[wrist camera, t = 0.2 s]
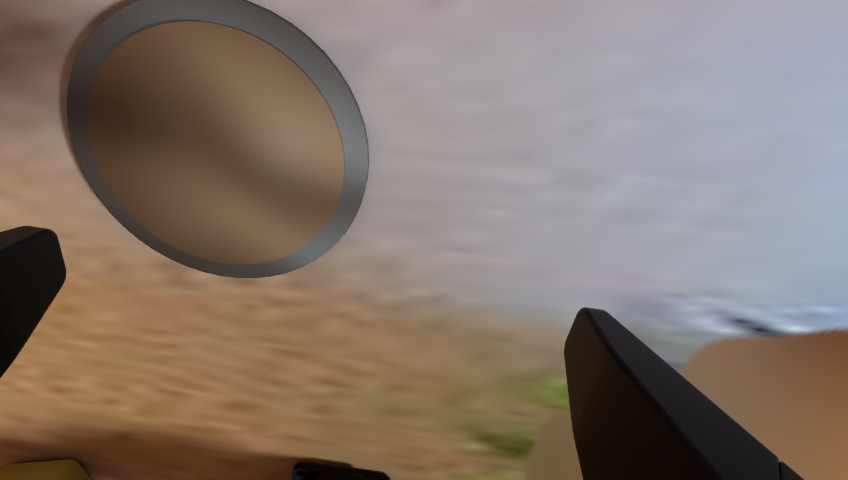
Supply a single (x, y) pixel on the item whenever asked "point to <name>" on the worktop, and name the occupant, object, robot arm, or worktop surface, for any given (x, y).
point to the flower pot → (44, 471)
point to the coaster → (218, 135)
